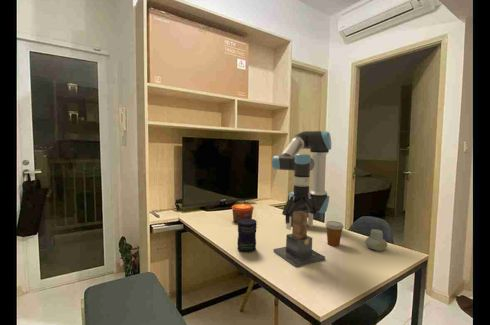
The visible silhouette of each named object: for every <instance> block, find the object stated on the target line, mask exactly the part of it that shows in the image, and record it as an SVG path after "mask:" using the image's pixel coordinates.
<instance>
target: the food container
mask: <svg viewBox="0 0 490 325" xmlns="http://www.w3.org/2000/svg"><path fill="white" fill-rule="evenodd" d="M231 209H232V210H231V211H232V219H233V222H234V223H236V224H238V220H240V219H245V218H248V219H253V214H254V212H253V211H254V209H255V208H254V206H253V205H251V204H248V203H247V204H246V203H239V204H238V203H237V204H233V205H232V206H231Z"/></svg>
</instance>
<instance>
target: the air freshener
mask: <svg viewBox="0 0 490 325" xmlns="http://www.w3.org/2000/svg"><path fill="white" fill-rule="evenodd" d="M383 237H384V232H383V231H382V230H381V229H376V228H372V229H371V230H370V236H368V237H366V238H365V240H364V243H365V245H366V247H367V248H369V249H371V250H373V251H377V252H380V251H384V250H386V249H387V247H388V242H387V241H386V240H385V239H384V238H383Z"/></svg>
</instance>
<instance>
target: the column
mask: <svg viewBox="0 0 490 325" xmlns="http://www.w3.org/2000/svg"><path fill="white" fill-rule="evenodd" d="M308 213H309V212H306V213H305V212H303V211H296V212H293V226H292V227H291V230H292V231H291V232H292V233H291V234H292V236H293V237H295V238H297V239H302V238H307V236H308V234H307V233H308V225H307V221H308Z"/></svg>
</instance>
